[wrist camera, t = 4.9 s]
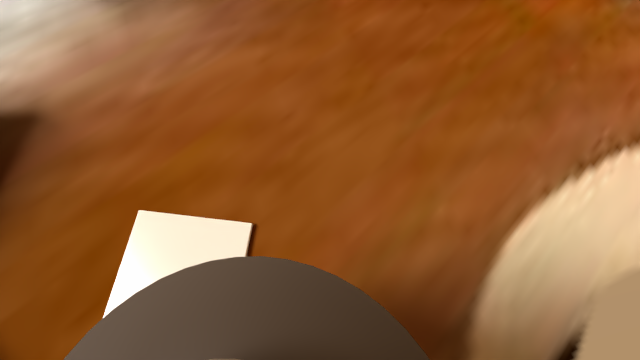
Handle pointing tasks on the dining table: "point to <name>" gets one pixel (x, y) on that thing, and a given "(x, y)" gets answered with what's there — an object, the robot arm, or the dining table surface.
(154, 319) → the pepper mill
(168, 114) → the dining table surface
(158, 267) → the coaster
